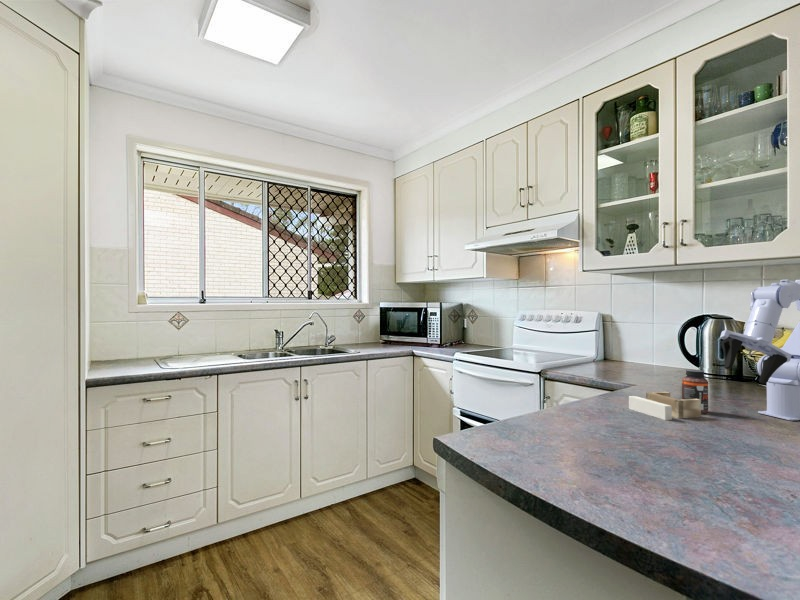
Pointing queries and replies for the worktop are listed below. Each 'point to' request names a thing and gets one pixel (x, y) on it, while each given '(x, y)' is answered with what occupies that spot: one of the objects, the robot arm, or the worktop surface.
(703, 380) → the supplement bottle
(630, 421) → the worktop surface
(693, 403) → the cradle
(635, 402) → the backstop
